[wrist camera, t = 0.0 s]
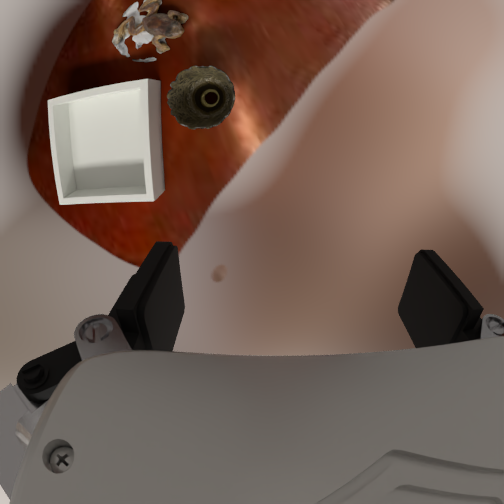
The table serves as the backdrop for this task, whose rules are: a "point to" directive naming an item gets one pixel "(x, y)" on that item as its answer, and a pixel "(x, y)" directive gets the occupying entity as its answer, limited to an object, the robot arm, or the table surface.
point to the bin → (108, 143)
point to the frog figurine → (148, 27)
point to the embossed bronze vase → (201, 97)
